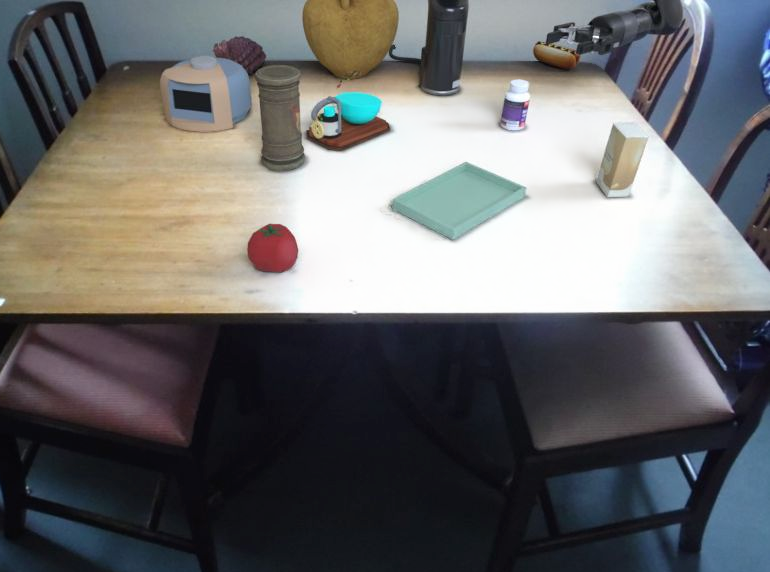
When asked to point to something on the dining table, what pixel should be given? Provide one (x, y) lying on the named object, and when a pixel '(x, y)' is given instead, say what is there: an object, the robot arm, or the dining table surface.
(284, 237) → the tomato
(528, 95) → the pill bottle
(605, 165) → the cosmetic box
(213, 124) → the alarm clock
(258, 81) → the container
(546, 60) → the hot dog
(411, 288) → the dining table surface
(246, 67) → the pine cone
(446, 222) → the tray
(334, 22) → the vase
